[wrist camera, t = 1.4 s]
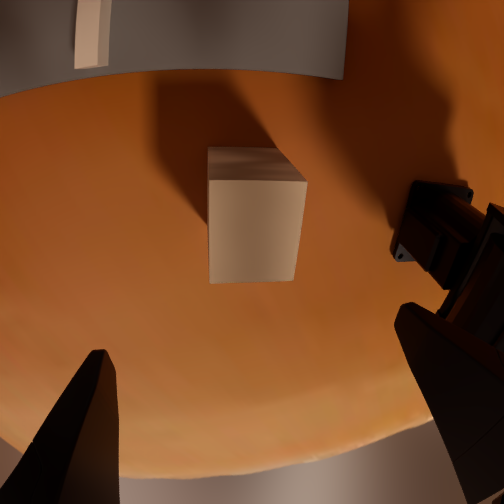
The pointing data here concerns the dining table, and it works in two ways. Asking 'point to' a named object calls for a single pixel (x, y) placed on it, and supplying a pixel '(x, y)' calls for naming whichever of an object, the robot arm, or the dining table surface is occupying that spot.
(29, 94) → the dining table surface
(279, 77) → the dining table surface
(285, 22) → the board
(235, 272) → the block
